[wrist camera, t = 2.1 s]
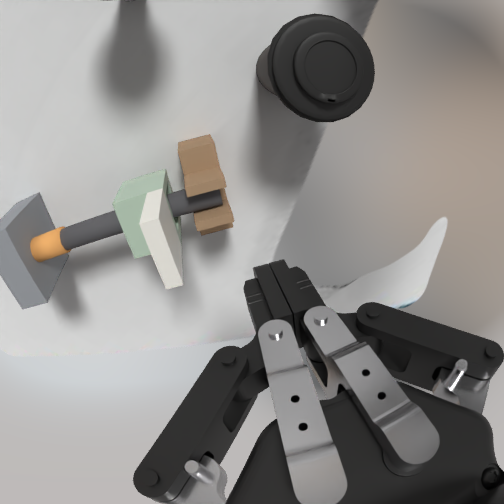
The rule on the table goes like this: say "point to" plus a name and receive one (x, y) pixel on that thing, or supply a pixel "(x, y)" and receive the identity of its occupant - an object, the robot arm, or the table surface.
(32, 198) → the rod rig
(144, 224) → the white-faced green block
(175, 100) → the table surface
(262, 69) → the coffee cup
